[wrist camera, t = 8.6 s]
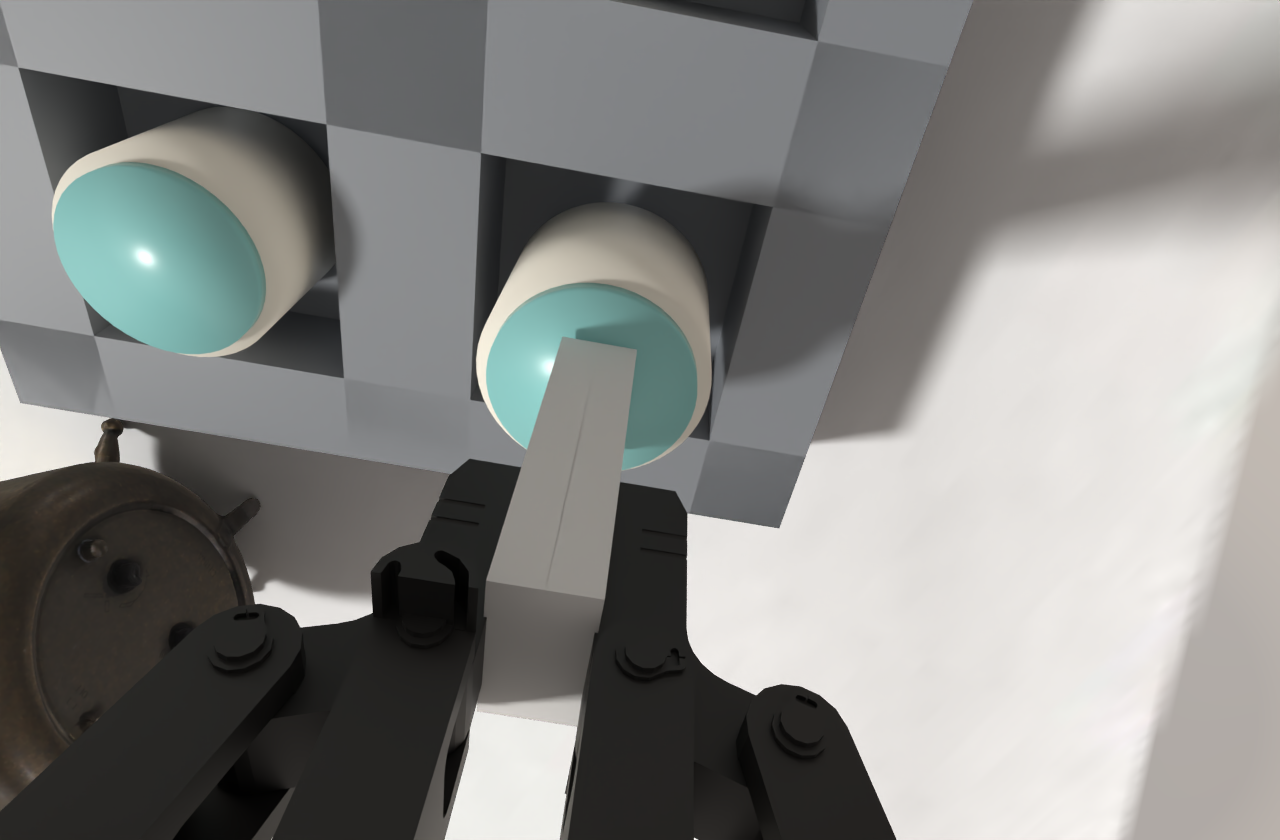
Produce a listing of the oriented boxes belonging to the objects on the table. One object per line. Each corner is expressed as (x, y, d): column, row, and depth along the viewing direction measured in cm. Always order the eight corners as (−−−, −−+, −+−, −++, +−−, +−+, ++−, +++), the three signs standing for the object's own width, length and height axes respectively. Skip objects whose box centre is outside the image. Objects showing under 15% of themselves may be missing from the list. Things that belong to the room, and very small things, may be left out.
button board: (-207, -850, 12) (-545, -1139, 9) (1094, -544, 13) (1229, -698, 10) (111, 336, 24) (20, 403, 21) (767, 448, 25) (779, 528, 22)
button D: (140, 89, 19) (7, 131, 15) (340, 126, 19) (256, 177, 15) (177, 272, 22) (72, 345, 18) (350, 303, 22) (282, 380, 18)
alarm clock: (54, 399, 26) (-622, 914, 13) (187, 371, 25) (-393, 896, 12) (223, 611, 32) (-116, 1117, 18) (336, 595, 31) (64, 1116, 17)
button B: (520, 184, 18) (476, 255, 14) (728, 222, 18) (737, 301, 14) (507, 365, 20) (467, 463, 17) (686, 396, 21) (685, 498, 17)
